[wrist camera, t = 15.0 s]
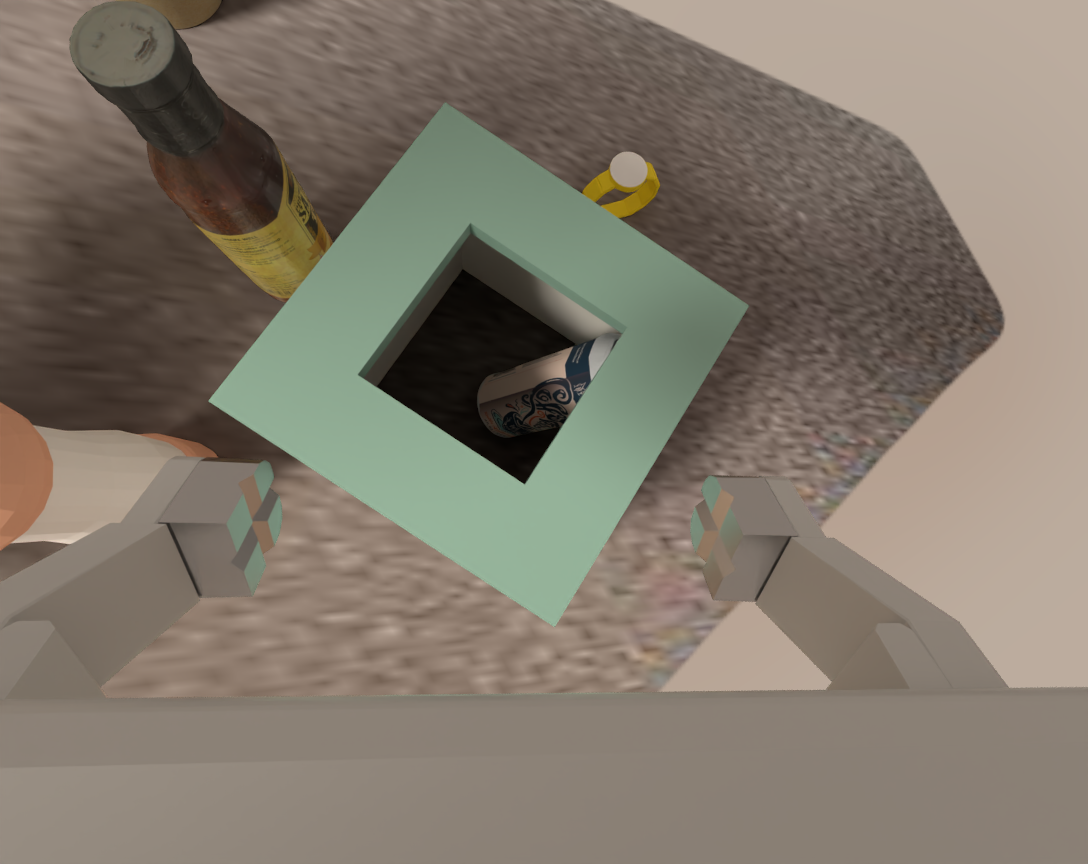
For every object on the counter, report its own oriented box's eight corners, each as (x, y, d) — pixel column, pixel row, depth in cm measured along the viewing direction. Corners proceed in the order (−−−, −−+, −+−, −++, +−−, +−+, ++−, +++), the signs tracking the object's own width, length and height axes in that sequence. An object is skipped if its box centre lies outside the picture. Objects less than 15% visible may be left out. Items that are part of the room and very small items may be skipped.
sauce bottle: (360, 275, 41) (250, 68, 22) (291, 325, 40) (112, 154, 21) (305, 210, 42) (147, -52, 22) (235, 258, 41) (5, 27, 21)
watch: (584, 238, 44) (593, 199, 38) (572, 208, 45) (580, 164, 39) (653, 217, 45) (673, 175, 39) (641, 186, 45) (659, 140, 39)
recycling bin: (526, 579, 40) (554, 627, 24) (317, 443, 39) (208, 401, 24) (651, 379, 43) (749, 305, 27) (459, 252, 43) (445, 102, 27)
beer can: (467, 426, 38) (598, 392, 29) (479, 364, 39) (607, 313, 30) (519, 447, 41) (652, 421, 32) (528, 388, 42) (658, 348, 33)
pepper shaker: (220, 429, 39) (-28, 355, 20) (239, 529, 38) (-1, 551, 19) (110, 452, 38) (-260, 398, 19) (127, 556, 37) (-241, 607, 18)
